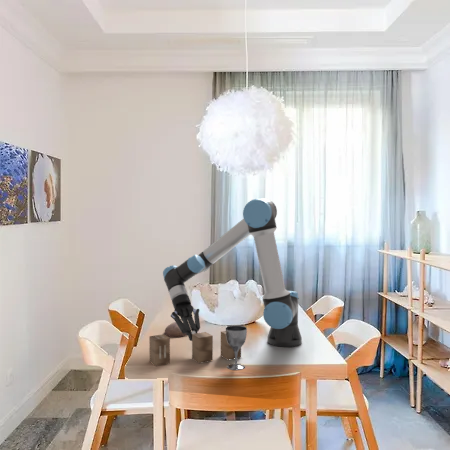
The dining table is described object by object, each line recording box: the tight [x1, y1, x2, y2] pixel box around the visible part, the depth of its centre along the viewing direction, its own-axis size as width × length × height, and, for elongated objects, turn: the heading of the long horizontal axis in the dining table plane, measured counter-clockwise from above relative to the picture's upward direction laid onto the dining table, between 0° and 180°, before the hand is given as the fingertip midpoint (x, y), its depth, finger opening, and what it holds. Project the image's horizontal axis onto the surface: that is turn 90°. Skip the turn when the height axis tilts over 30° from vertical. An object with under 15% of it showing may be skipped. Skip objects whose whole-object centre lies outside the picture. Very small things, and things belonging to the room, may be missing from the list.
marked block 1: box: [148, 333, 171, 367], centre depth 185 cm, size 6×6×10 cm
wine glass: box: [225, 324, 248, 371], centre depth 180 cm, size 8×8×15 cm
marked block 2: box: [220, 330, 242, 361], centre depth 192 cm, size 6×6×10 cm
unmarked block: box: [191, 331, 214, 364], centre depth 188 cm, size 6×6×10 cm
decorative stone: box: [164, 322, 188, 338], centre depth 225 cm, size 12×12×6 cm
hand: (197, 346), depth 192 cm, fingers closed
